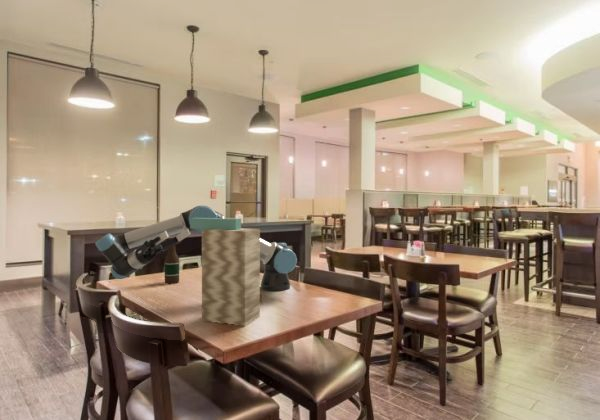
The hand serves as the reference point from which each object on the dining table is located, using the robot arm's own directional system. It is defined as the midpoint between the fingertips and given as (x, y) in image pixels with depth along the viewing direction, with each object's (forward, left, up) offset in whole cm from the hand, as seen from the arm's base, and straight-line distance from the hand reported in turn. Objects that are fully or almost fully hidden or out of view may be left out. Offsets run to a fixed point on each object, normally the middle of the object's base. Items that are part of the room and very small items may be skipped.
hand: (178, 232), depth 154 cm
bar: (-15, +8, +2) cm, 18 cm away
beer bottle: (+14, -56, -32) cm, 66 cm away
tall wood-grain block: (-21, +12, -32) cm, 40 cm away
